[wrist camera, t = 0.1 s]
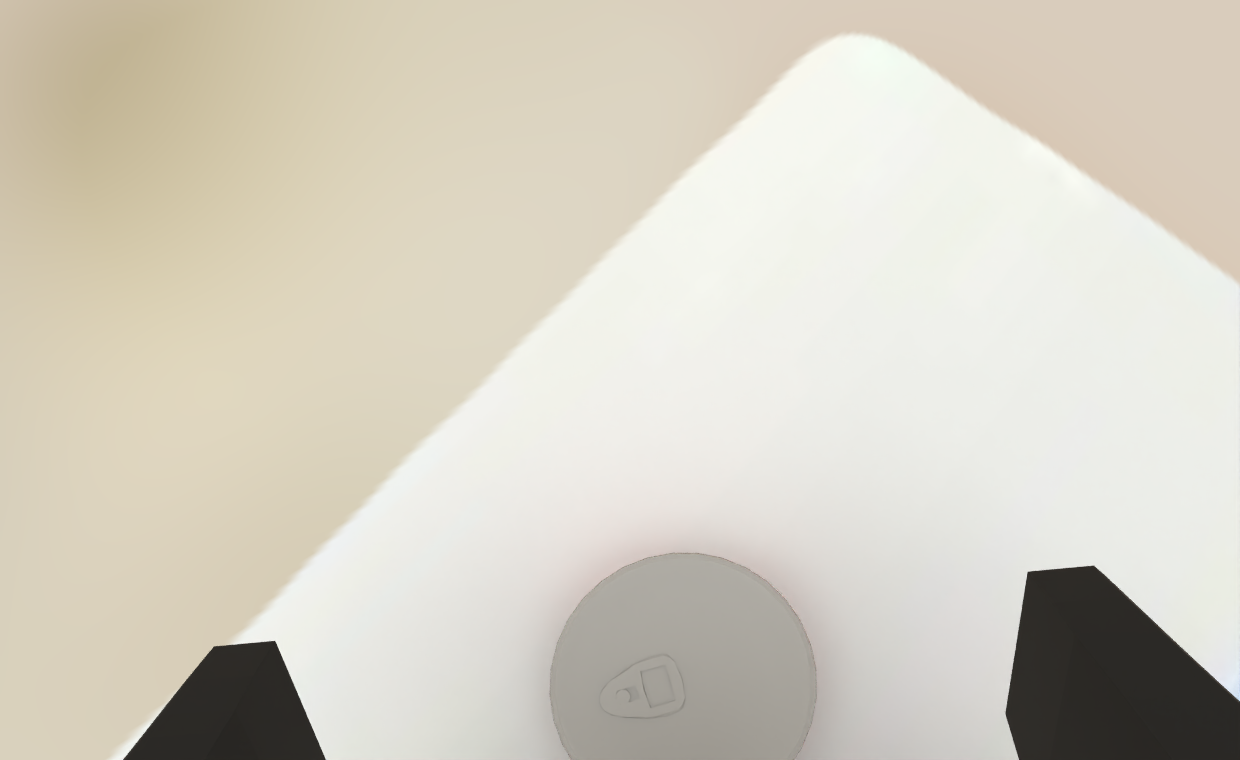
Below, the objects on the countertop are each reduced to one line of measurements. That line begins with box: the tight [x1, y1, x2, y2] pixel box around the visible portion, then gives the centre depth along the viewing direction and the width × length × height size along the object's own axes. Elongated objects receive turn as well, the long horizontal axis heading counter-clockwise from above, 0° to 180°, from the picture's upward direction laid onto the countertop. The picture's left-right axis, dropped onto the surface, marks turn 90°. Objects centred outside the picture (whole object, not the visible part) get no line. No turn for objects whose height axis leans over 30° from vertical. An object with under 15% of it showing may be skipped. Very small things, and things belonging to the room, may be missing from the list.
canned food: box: [550, 553, 816, 760], centre depth 35 cm, size 8×8×11 cm
